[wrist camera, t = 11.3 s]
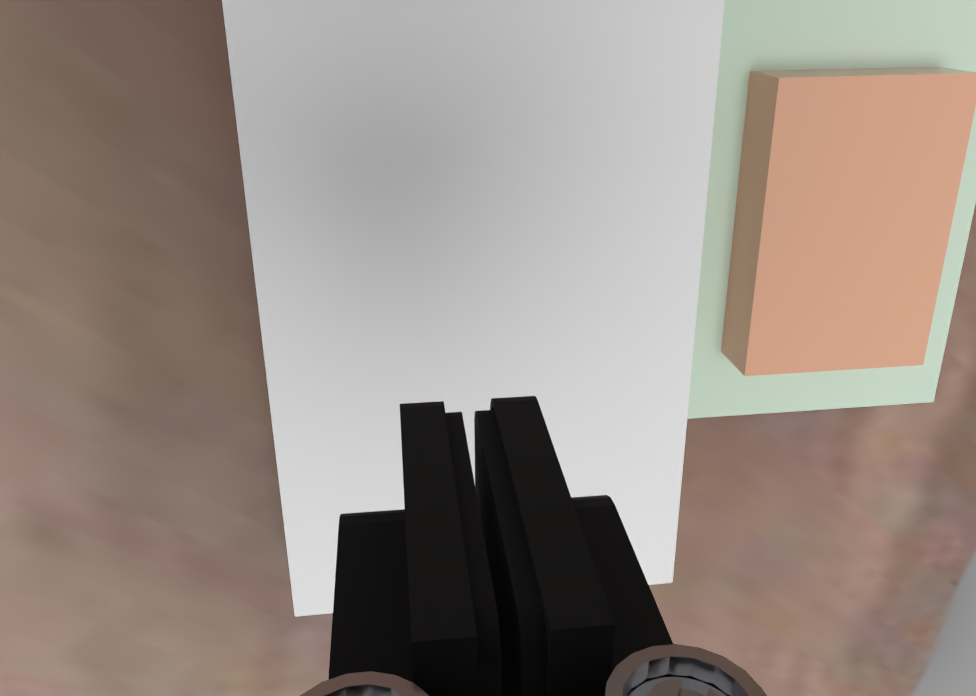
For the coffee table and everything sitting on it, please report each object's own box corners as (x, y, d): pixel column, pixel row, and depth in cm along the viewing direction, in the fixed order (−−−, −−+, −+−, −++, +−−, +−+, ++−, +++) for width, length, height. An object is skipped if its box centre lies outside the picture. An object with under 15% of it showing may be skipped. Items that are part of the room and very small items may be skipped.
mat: (696, -101, 24) (702, -102, 24) (1030, -101, 25) (1039, -102, 25) (658, 415, 30) (661, 420, 30) (927, 397, 31) (933, 401, 31)
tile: (982, 73, 25) (939, 66, 26) (779, 77, 24) (749, 71, 26) (923, 365, 28) (889, 341, 30) (744, 375, 27) (720, 351, 29)
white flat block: (224, -191, 22) (195, -226, 18) (685, -185, 23) (744, -216, 20) (303, 540, 30) (295, 616, 27) (637, 513, 32) (672, 582, 28)
